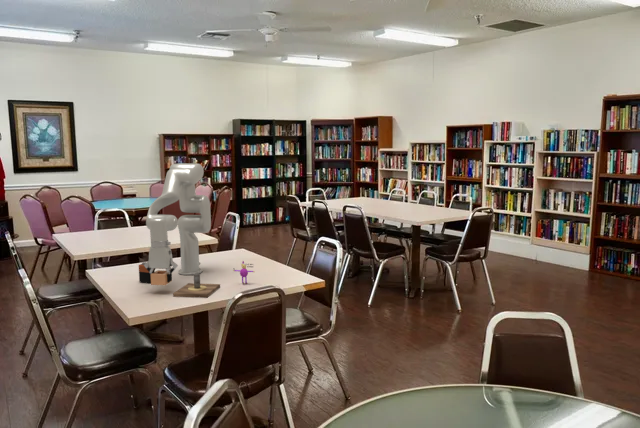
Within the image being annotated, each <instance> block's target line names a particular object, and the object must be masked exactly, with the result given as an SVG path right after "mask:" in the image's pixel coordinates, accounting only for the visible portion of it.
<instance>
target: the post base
mask: <svg viewBox="0 0 640 428" xmlns="http://www.w3.org/2000/svg"><path fill="white" fill-rule="evenodd" d="M220 288H221V284H220V283H201V273H199V274H198V273H196V274H194V275H193V283H191V282H189V283H187V284H185V285H184V286H182V287H180V288H179V289H178V290H175V291H174V292H173V293H172V294H173V295H172V297H175V298H202V299H203V298H204V299H206V298H208V297H210V296H211V295H212V294H213V293H215V292H216V291H217V290H219V289H220Z"/></svg>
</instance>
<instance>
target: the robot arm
mask: <svg viewBox="0 0 640 428" xmlns="http://www.w3.org/2000/svg"><path fill="white" fill-rule="evenodd" d="M204 172H205V171H204V167H203V166H202V164H200V163H173V164H171V165H170V166H169V170H167V172H166V176H165V179H164V183H163V187H162V192H161V195H160V196H158V197H157V198H156V199H155V200H154V201H153V202H152V203H151V204H150V205H149V208H148V211H147V215H146V220H145V225H146V228H147V229H148V230H149V234H150V235H149V236H150V247H149V249H148V250H149V252H148V260H147V261H145V262H146V263H145V264H144V266H145V268H147V270H148V271H149V273H150V274H152V273H154V272H155V271H156V270H157V269H158V270H161V269H162V270H164V269H165V271H167V273H168V274H167V282H170V281H171V280H172V281H173V272H175V270H176V269H177V267H178V266H179V265H178V264H177V263H176V262H175V261H174V260H173V254H172V249H171V246H170V245H171V241H169V239H168V237H169V236H168V232H170V231H173V230H176V229H178V232H179V241H180V243H179V244H180V268H181V269H179V270H178V274H179V275H183V276H191V275H193V276H194V274H196V273H198V274H202V273H203V269H202V268H200V265H201V262H200V253H199V252H200V251H199V250H200V249H199V239H198V237H197V235H196V234H198V233H199V234H200V233H201V234H202V233H203V234H206V233H209V232H210V230H211V228H212V227H211V226H212V218H211V217H212V215H211V202H210V198H209V196H208V195H206V194H205V195H204V194H196V185H197V183H198V182H199V181H201V180H202V178H203V176H204ZM177 202H179V209H180V211H181V212H183V213H188V214H184V215H181V216H180V217H179V218H177V217H176V215H173V214H158V213H159V212H160V210H162V209H163V208H165V207H167V206H170V205H172V204H174V203H177ZM189 213H191V214H189ZM194 213H195V214H194ZM196 213H197V214H196ZM172 281H171V282H172ZM171 282H170V283H171Z"/></svg>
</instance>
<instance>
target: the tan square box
mask: <svg viewBox="0 0 640 428" xmlns="http://www.w3.org/2000/svg"><path fill="white" fill-rule="evenodd" d="M167 274H168V273H167V271H166V270H164V269H162V270H161V269H158V270H157V269H156V270H155V272H154V273H152V274H151V283H150V284H151V285H150V286H167V285H168V284H170V283H171V282H172V281H173V279H172V280H171V281H170V282H167Z"/></svg>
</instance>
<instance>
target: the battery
mask: <svg viewBox="0 0 640 428" xmlns="http://www.w3.org/2000/svg"><path fill="white" fill-rule="evenodd" d="M146 262H147V261H143V262H141V264H138V277H139V278H138V280H139V283H142V284H149V285H150V284H151V274H150V273H149V271H148V270H147V268H145V266H144V264H145V263H146Z"/></svg>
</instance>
